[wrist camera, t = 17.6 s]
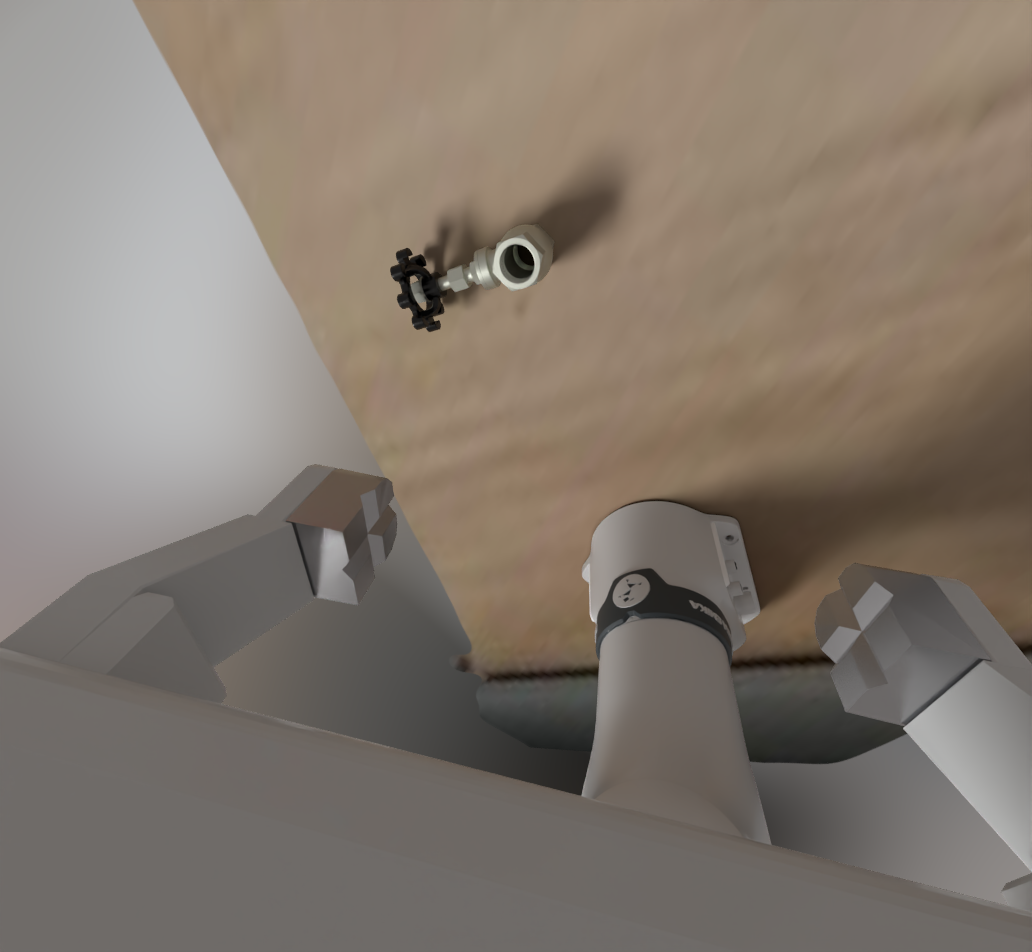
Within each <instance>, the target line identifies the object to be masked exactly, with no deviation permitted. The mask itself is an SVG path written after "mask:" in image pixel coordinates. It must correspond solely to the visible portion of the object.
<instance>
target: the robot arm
mask: <svg viewBox="0 0 1032 952" xmlns="http://www.w3.org/2000/svg"><path fill="white" fill-rule="evenodd" d="M393 497H394V493H393V486H392V482H391V481H390V480H389V479H387V478H383V477H378V476H373V475H368V474H364V473H359V472H354V471H348V470H344V469H337V468H332V467H327V466H322V465H317V464H314V465H310V466H307V467H306V468H305V469H304V470H303V471H302V472H301V473H300V474H299V475H298V476H297V477H296V478H295V479H294V480H293V481H292V482H291V483H290V484H289V485H288V486H287V487H285V488H284V489H283V490H282V491H281V492H280V493H279V494H278V495H277V496H276V497H275V498H274V499H273V500H272V501H271V502H270V503H269V504H268V505H267V506H266V507H264V508H263V510H261V511H260V512H259V513H258V514H257V515H256V516H253V515H245V516H242V517H240V518H237V519H234V520H232V521H229V522H227V523H224V524H221V525H219V526H216V527H214V528H211V529H208V530H206V531H203V532H200V533H198V534H195V535H193V536H190V537H187V538H185V539H182V540H179V541H177V542H174V543H171V544H169V545H166V546H164V547H161V548H158V549H156V550H153V551H150V552H148V553H145V554H142V555H140V556H137V557H135V558H132V559H129V560H127V561H124V562H121V563H119V564H117V565H114V566H111V567H108V568H106V569H103V570H101V571H98V572H95V573H92V574H90V575H88V576H86V577H85V578H84V579H82V580H81V581H80V582H78V583H77V584H76V585H75V586H73V587H72V588H71V589H69V591H67V592H66V593H64V594H63V595H62V596H60V597H59V598H58V599H56V600H55V601H54V602H53V603H51V604H50V605H49V606H47V607H46V608H45V609H44V610H42V611H41V612H40V613H38V614H37V615H36V616H35V617H33V618H32V619H31V620H29V621H28V622H27V623H26V624H24V625H23V626H22V627H20V628H19V629H18V630H16V631H15V632H14V633H13V634H11V635H10V636H9V637H7V638H6V639H5V640H4V641H2V642H1V643H0V952H1032V873H1031V874H1028V875H1026V876H1023V877H1021V878H1019V879H1016V880H1014V881H1011V882H1009V883H1006V885H1005V886H1004V888H1003V890H1002V891H1001V893H1002V895H1003V897H1004V899H1005V901H1006V903H1007V905H1008V906H1006V905H1003V904H999V903H995V902H991V901H987V900H984V899H980V898H976V897H972V896H968V895H964V894H960V893H956V892H952V891H948V890H944V889H941V888H937V887H933V886H929V885H925V884H921V883H917V882H913V881H909V880H905V879H901V878H898V877H894V876H890V875H886V874H882V873H878V872H874V871H871V870H867V869H863V868H859V867H855V866H851V865H847V864H843V863H839V862H836V861H832V860H827V859H824V858H820V857H816V856H812V855H808V854H804V853H800V852H797V851H792V850H789V849H785V848H781V847H777V846H773V845H771V842H770V838H769V834H768V830H767V826H766V821H765V817H764V813H763V810H762V806H761V802H760V798H759V794H758V790H757V787H756V783H755V779H754V776H753V772H752V769H751V765H750V761H749V758H748V754H747V749H746V745H745V740H744V735H743V730H742V725H741V720H740V715H739V710H738V706H737V701H736V696H735V691H734V686H733V681H732V676H731V671H730V666H731V662H732V655H733V651H735V650H736V649H738V648H739V647H740V646H742V645H743V644H744V642H745V641H746V633H745V628H744V624H745V623H747V622H749V621H751V620H752V619H753V618H755V617H756V616H757V615H758V614H759V613H760V605H759V600H758V596H757V592H756V588H755V584H754V580H753V576H752V573H751V569H750V565H749V561H748V557H747V553H746V549H745V545H744V541H743V537H742V533H741V529H740V525H739V523H738V521H737V520H736V519H734V518H732V517H728V516H722V515H708V514H704V513H701V512H699V511H696V510H694V509H692V508H689V507H687V506H684V505H680V504H676V503H671V502H663V501H649V502H641V503H636V504H632V505H628V506H626V507H623V508H621V509H619V510H617V511H615V512H613V513H612V514H610V515H609V516H607V517H606V518H605V519H604V520H603V521H602V522H601V523H600V524H599V526H598V527H597V529H596V530H595V532H594V535H593V538H592V543H591V553H590V556H589V558H588V559H587V560H586V562H585V563H584V565H583V567H582V576H583V578H584V579H585V580H586V581H587V582H588V583H589V597H590V617H591V619H592V621H593V622H595V623H596V624H597V625H596V629H595V643H596V653H597V657H598V659H599V661H600V662H599V678H598V696H597V715H596V727H595V737H594V743H593V748H592V753H591V758H590V762H589V766H588V771H587V775H586V779H585V783H584V787H583V792H582V796H579V795H574V794H571V793H567V792H563V791H559V790H555V789H551V788H547V787H543V786H539V785H536V784H532V783H528V782H524V781H520V780H516V779H512V778H509V777H504V776H500V775H497V774H493V773H489V772H485V771H481V770H477V769H473V768H470V767H466V766H461V765H458V764H454V763H450V762H446V761H442V760H438V759H434V758H431V757H426V756H423V755H418V754H415V753H411V752H407V751H403V750H399V749H395V748H392V747H388V746H384V745H380V744H375V743H372V742H368V741H364V740H360V739H356V738H352V737H348V736H345V735H341V734H337V733H333V732H329V731H325V730H321V729H317V728H313V727H310V726H306V725H302V724H298V723H294V722H290V721H286V720H282V719H278V718H274V717H271V716H267V715H263V714H259V713H255V712H251V711H247V710H243V709H239V708H235V707H231V706H228V705H223V704H221V703H222V702H223V700H224V699H225V698H226V688H225V686H224V684H223V683H222V681H221V679H220V678H219V676H218V674H217V672H216V671H215V669H214V667H215V666H216V665H218V664H219V663H221V662H222V661H224V660H225V659H227V658H228V657H230V656H231V655H233V654H234V653H236V652H237V651H239V650H240V649H242V648H243V647H245V646H246V645H248V644H249V643H250V642H252V641H254V640H255V639H257V638H258V637H260V636H261V635H262V634H264V633H265V632H267V631H268V630H270V629H271V628H273V627H274V626H276V625H277V624H279V623H280V622H282V621H283V620H285V619H286V618H288V617H289V616H291V615H292V614H294V613H295V612H297V611H298V610H300V609H301V608H303V607H304V606H306V605H307V604H309V603H310V602H312V601H313V600H314V597H317V598H322V599H327V600H333V601H338V602H344V603H348V604H354V605H359V603H360V602H361V600H362V599H363V597H364V595H365V593H366V592H367V590H368V589H369V587H370V585H371V584H372V582H373V580H374V579H375V575H374V568H373V567H374V566H376V565H378V564H380V563H382V562H383V561H385V560H386V559H387V557H388V555H389V553H390V551H391V550H392V547H393V543H394V541H395V537H396V531H397V518H396V513H395V512H394V511H393V510H392V508H391V507H390V506H389V505H388V504H389V503H390V501H391V500H392V498H393ZM728 535H732V536H730V537H726V536H728ZM838 580H839V583H840V586H841V589H839V590H837V591H835V592H833V593H830V594H828V595H826V596H825V597H824V599H823V600H822V602H821V603H820V605H819V607H818V608H817V613H816V619H815V630H816V637H817V639H818V642H819V645H820V648H821V650H822V651H824V652H825V653H826V654H827V655H828V656H829V657H830V658H831V659H832V660H833V661H834V662H835V665H834V667H833V669H832V671H831V676H832V678H833V681H834V683H835V686H836V688H837V691H838V693H839V696H840V698H841V701H842V703H843V706H844V708H845V711H846V712H849V713H853V714H857V715H861V716H865V717H870V718H874V719H878V720H882V721H886V722H890V723H894V724H898V725H902V726H905V727H904V728H903V729H904V730H905V731H906V732H907V733H908V734H909V736H910V737H911V738H912V739H913V740H914V741H915V742H916V743H917V744H918V746H919V747H920V748H921V749H922V750H923V751H924V752H925V753H926V754H927V756H928V757H929V758H930V759H931V760H932V761H933V762H934V763H935V765H936V766H937V767H938V768H939V769H940V770H941V771H942V772H943V773H944V774H945V775H946V777H947V778H948V779H949V780H950V781H951V782H952V783H953V785H954V786H955V787H956V788H957V789H958V790H959V791H960V792H961V794H962V795H963V796H964V797H965V798H966V799H967V800H968V801H969V802H970V803H971V805H972V806H973V807H974V808H975V809H976V810H977V811H978V812H979V814H980V815H981V816H982V817H983V818H984V819H985V820H986V821H987V823H988V824H989V825H990V826H991V827H992V828H993V829H994V830H995V832H996V833H997V834H998V835H999V836H1000V837H1001V838H1002V839H1003V840H1004V841H1005V843H1006V844H1007V845H1008V846H1009V847H1010V848H1011V849H1012V850H1013V852H1014V853H1016V855H1017V856H1018V857H1019V858H1020V859H1021V860H1022V862H1023V863H1024V864H1025V865H1026V866H1027V867H1028V868H1029V869H1030V871H1031V872H1032V664H1031V663H1030V662H1029V661H1028V659H1027V658H1026V657H1025V656H1024V654H1023V653H1022V652H1021V651H1020V649H1019V648H1018V647H1017V646H1016V644H1015V643H1014V642H1013V641H1012V639H1011V638H1010V637H1009V636H1008V634H1007V633H1006V632H1005V631H1004V629H1003V628H1002V627H1001V626H1000V624H999V623H998V622H997V621H996V619H995V618H994V617H993V616H992V614H991V613H990V612H989V611H988V609H987V608H986V607H985V606H984V604H983V603H982V602H981V601H980V599H979V598H978V597H977V596H976V594H975V593H974V592H973V591H972V589H971V588H970V587H969V586H967V585H966V584H964V583H963V582H961V581H959V580H958V579H951V578H945V577H939V576H933V575H926V574H916V573H910V572H905V571H899V570H893V569H887V568H882V567H876V566H870V565H864V564H859V563H853V564H852V565H850V566H848V567H846V568H845V570H844V571H843V572H842V574H841V575H840V576H839V578H838Z"/></svg>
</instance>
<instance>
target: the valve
mask: <svg viewBox="0 0 1032 952" xmlns="http://www.w3.org/2000/svg"><path fill="white" fill-rule="evenodd" d="M554 242H555V241H554V240H553V239H552V238H551V237H550V236H549V235H548V234H547V233H546V232H545V231H544V230H543V228H542V227H541V226H540V225H539V224H538V223H537V224H534V225H519V226H516V227H514V228H512V229H511V230H509V231H508V232H507V233H506V234H505V235H504V237H503V238H502V240H501V241H500V242H498V243H497V246H496V249H493V250H491V249H490V248H489V247H484V248H481V249H479V250H476V251H475V253H474V261H472V262H470V266H469V267H466V265H465V264H463V265H460V266H457V267H454V268H451V269H449V270H448V271H447V276H444V277H442V276H441V274H440V273H438V272H434V273H432V274H430V273H429V271H428V270H427V269H425V268H424V266H426V261H425V258H424V257H423V255H421V254H420V255H417V256H414V257H412V258H410V260H409V257H408V256H411V255H413V254H412V252H411V250H410V249H409V248H405V249H403V250H400V251H397V253H396V258H397V261H398V263H399V264H398V265H395V266H392V267H391V269H390V272H391V275H392V277H393V279H394V280H395V281H397V282H399V283H400V285H401V289H402V293H401V294H399V295H398V296H397V301H398V304H399V306H400V307H401V308H402V309H406V308H410V310H411V311H412V313H413V317H412V324H413V326H414V328H415V329H417V330H419V329H422V328H426V329H427V330H428V331H429V332H432V331H435V330H438V329H440V327H441V324H440V321H439V320H438V321H434V319H433V316H438V315H441V314H443V313H444V307H443V304H442V303H441V300H440V298H444V297H445V296H446V295H447V289H450V288H452V289H453V290H454V291H455V292H457V291H460V290H463V289H466V288H469V287H470V286H472V282H475V283H476V284H477V285H479V284H482V286H483V287H484V288H485V289H486V290H490V289H493V288H496V287H499V286H500V284H501V282H502V283H503V284H504V285H505V286H506V287H507V288H509V289H510V290H511V291H516V290H519V289H523V288H526V287H529V286H532V285H535V284H537V283H538V282H539V281H541V280H542V279H543V278H544V277H545V276H546V275H547V273H548V272H549V270H550V267H551V265H552V260H553V247H554ZM518 245H522V246H524V247H526V248H527V249H528V250H529V251H530V252H531V253H532V255H533V258H534V264H535V265H534V266H529V265H527V264H525V263H524V262H523V261H522V260H521V259H520V257H519V255H518V250H517V247H518ZM414 275H415V276H416V277H417V279H418V280H419V281H416V282H414V283H412V284H411V285H410V277H411V276H414ZM425 301H426V310H423V309H422V308H421V307H420V306H419V305H418V303H422V302H425ZM417 302H418V303H417Z"/></svg>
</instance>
